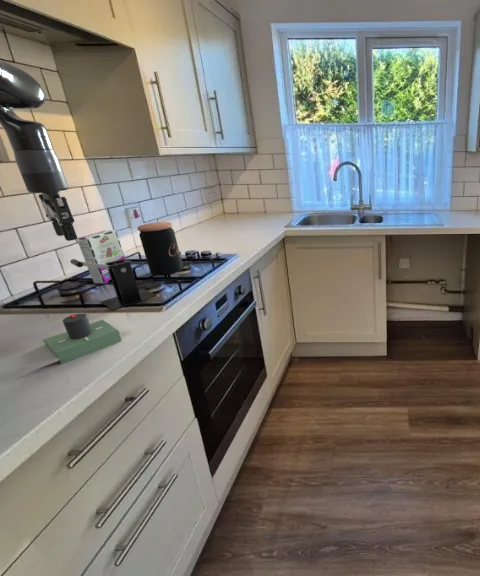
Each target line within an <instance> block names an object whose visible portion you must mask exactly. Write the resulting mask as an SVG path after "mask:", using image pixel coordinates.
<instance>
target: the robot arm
mask: <svg viewBox="0 0 480 576" xmlns="http://www.w3.org/2000/svg"><path fill="white" fill-rule="evenodd" d="M45 102H46V93H45V90H44V88H43V86H42V85H41V84H40V82H39V81H38V80H37V79H36V78H34V76H33V75H31V74H30V73H29V72H27V71H25V70H23V69H22V68H19V67H17V66H16V65H13V64H11V63H9V62H6V61H5V60H2V59H0V126H1V127H2V129H3V130H4V133H5V134H6V136H7V139H8V142H9V145H10V147H11V149H12V151H13V156H14V161H15V163H16V165H17V168H18V171H19V173H20V175H21V179H22V180H23V183H24V185H25V189H26V190H27V192H29V193H31V194H38V198H39V200H40V203H41V205H42V207H43V211H44V213H45V217H46V218H47V219H48V220H49V221H50V222H51V225H52V227H53V230H54V232H55V234H56V236H58V237H64V240H65V241H67V242H70V241H77V238H78V235H77V233H76V230H75V227H74V225H73V224H74V223H75V218H74V216H73V214H72V211H71V209H70V207H69V204H68V200H67V198H66V197H65V196H61V194H60V192H61V191H62V192H63V191H68V190H69V188H70V187H69V185H68V181H67V178H66V176H65V172H64V170H63V167H62V165H61V162H60V159H59V157H58V155H57V153H56V151H55V149H54V146H53V144H52V141H51V138H50V135H49V131H48V130H47V128H46V126H45V124H43V123H42V122H40V121H36V120H29V119H24V118H21V117H20V116H19V115H17V114H16V113H15V111H14V110H35V109H39V108H42V107H43V106H44V104H45Z"/></svg>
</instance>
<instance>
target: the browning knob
mask: <svg viewBox="0 0 480 576" xmlns="http://www.w3.org/2000/svg"><path fill="white" fill-rule="evenodd" d="M62 323H63V325H64V329H65V330H66V331H65V332H67V333H68V335H69V338H70V339H79V338H83V337H86V336H88V335H90V334H91V333H92V332H93V331H92V328H91V326H90V324H91V323H90V321H89V318H88V316H87V314H86V313H75V314H73V313H71V314H69V316H66V317H65V318H63V319H62Z"/></svg>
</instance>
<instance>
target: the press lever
mask: <svg viewBox="0 0 480 576" xmlns="http://www.w3.org/2000/svg"><path fill="white" fill-rule="evenodd" d="M69 261H70V264H71V265H73V266H76V267H77V268H83V267H87V266H88V267H96V268H105V269H112V267H111V265H104V264H96V263H88V262H85V261H79V260H77V259H76V258H72V259H70V260H69ZM115 264H118V263H113V265H115ZM88 267H87V268H88ZM112 271H113V270H112Z"/></svg>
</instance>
